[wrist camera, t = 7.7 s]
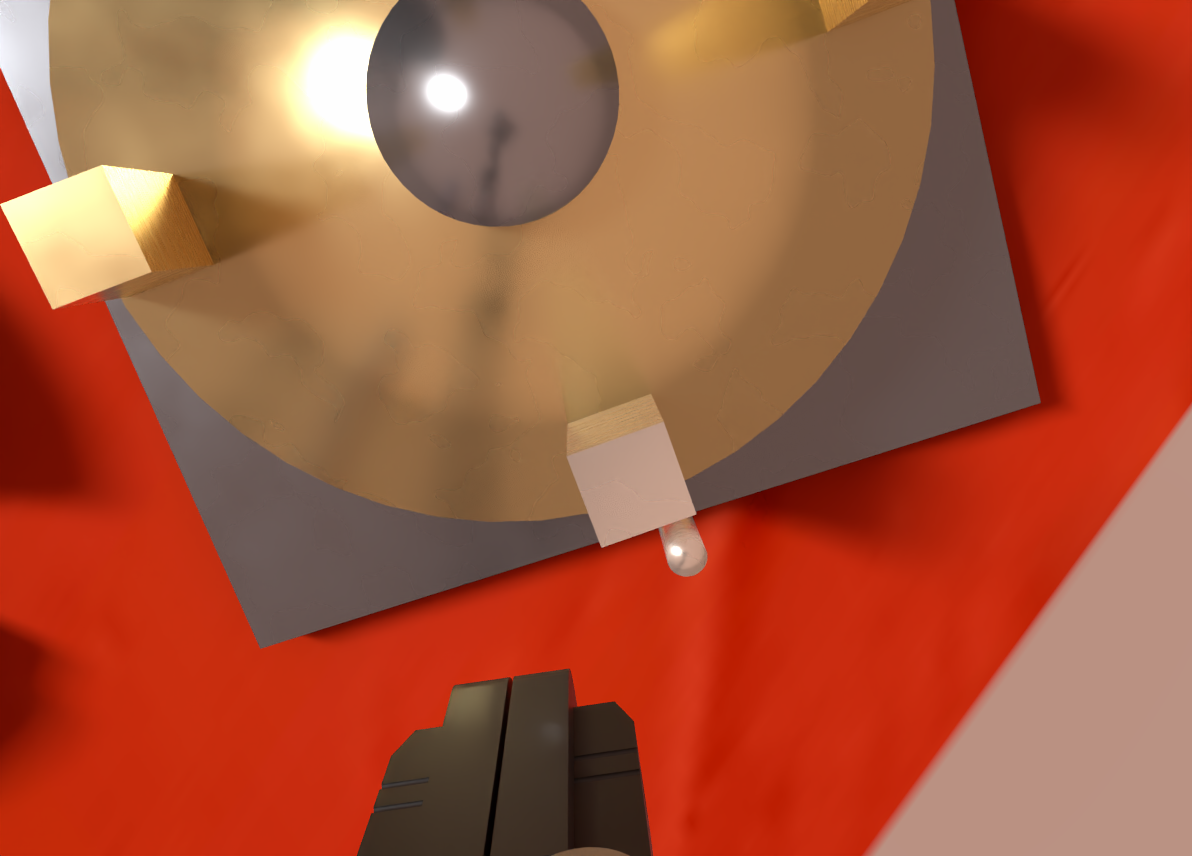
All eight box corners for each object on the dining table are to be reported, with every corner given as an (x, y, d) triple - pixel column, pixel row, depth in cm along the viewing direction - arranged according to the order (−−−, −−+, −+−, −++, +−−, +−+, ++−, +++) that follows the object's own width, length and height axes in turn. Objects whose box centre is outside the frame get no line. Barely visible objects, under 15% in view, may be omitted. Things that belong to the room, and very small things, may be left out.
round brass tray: (-37, -148, 24) (-262, -284, 17) (757, -476, 22) (830, -753, 16) (307, 585, 28) (230, 690, 22) (977, 347, 27) (1100, 385, 21)
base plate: (1017, 393, 29) (1164, 450, 22) (275, 628, 31) (180, 755, 23) (814, -527, 24) (922, -864, 16) (-87, -193, 25) (-363, -368, 18)
